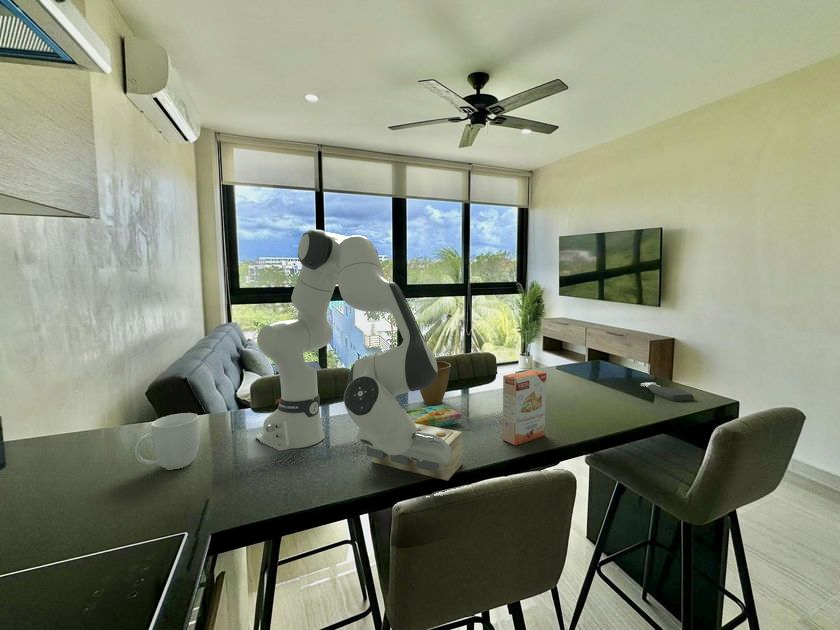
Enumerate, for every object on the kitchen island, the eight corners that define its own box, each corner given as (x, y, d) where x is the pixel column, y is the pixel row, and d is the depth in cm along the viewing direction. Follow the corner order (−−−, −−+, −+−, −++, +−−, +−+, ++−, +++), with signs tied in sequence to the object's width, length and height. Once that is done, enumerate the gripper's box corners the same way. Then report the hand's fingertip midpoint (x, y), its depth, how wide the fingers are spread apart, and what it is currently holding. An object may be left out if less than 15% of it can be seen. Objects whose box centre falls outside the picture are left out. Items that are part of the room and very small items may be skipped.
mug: (137, 484, 96) (132, 434, 95) (136, 467, 104) (133, 421, 103) (204, 466, 105) (201, 420, 104) (198, 452, 113) (195, 410, 112)
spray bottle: (670, 402, 153) (634, 387, 178) (697, 401, 154) (657, 386, 178) (671, 395, 153) (634, 380, 178) (697, 394, 154) (657, 380, 178)
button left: (366, 455, 101) (366, 441, 100) (372, 451, 103) (371, 437, 103) (382, 459, 98) (382, 444, 98) (387, 455, 101) (387, 440, 100)
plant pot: (407, 402, 158) (407, 364, 157) (433, 394, 168) (432, 359, 167) (432, 410, 147) (432, 370, 146) (458, 402, 157) (458, 364, 156)
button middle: (390, 461, 97) (390, 446, 97) (395, 457, 99) (395, 442, 99) (407, 465, 95) (407, 449, 95) (412, 461, 97) (412, 446, 97)
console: (372, 462, 105) (371, 429, 105) (391, 447, 114) (390, 417, 114) (447, 480, 95) (447, 444, 94) (462, 463, 104) (461, 430, 103)
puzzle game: (461, 411, 132) (408, 421, 124) (461, 424, 133) (408, 434, 125) (445, 402, 143) (396, 410, 135) (445, 414, 144) (396, 423, 136)
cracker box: (516, 447, 113) (516, 378, 112) (501, 440, 118) (501, 374, 117) (546, 436, 121) (547, 372, 119) (531, 430, 126) (532, 368, 124)
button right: (416, 467, 94) (416, 451, 93) (421, 463, 96) (420, 447, 96) (434, 471, 91) (434, 455, 91) (439, 467, 94) (438, 451, 93)
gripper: (443, 425, 76) (462, 452, 85) (361, 411, 86) (386, 437, 95) (434, 455, 72) (455, 480, 82) (349, 437, 82) (376, 461, 91)
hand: (417, 457), depth 89 cm, fingers closed
